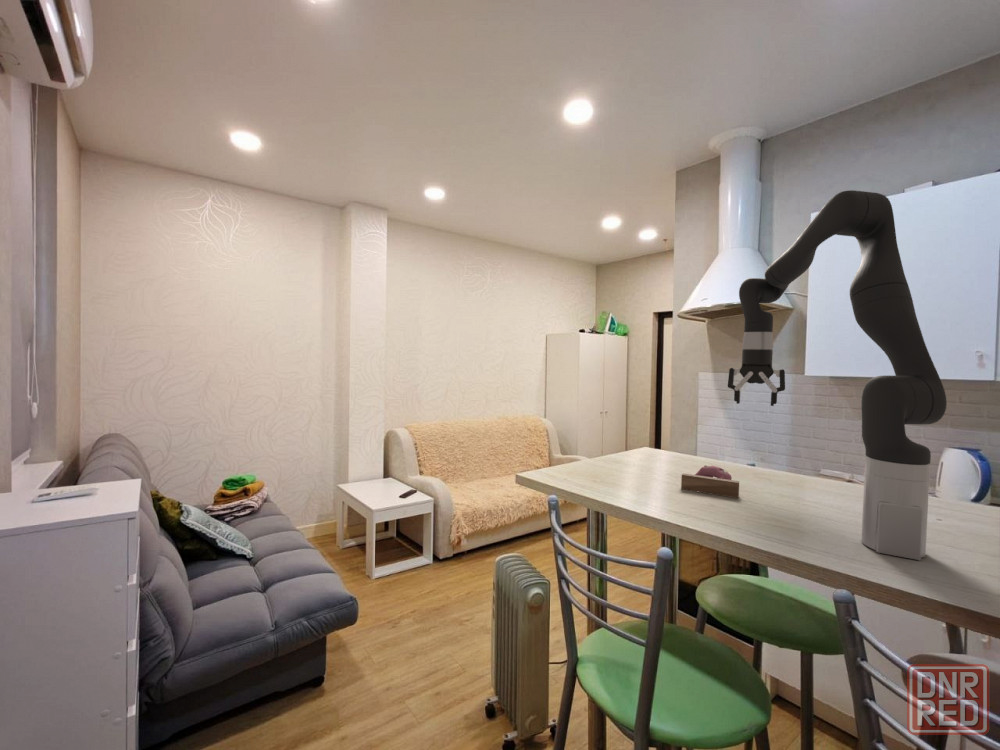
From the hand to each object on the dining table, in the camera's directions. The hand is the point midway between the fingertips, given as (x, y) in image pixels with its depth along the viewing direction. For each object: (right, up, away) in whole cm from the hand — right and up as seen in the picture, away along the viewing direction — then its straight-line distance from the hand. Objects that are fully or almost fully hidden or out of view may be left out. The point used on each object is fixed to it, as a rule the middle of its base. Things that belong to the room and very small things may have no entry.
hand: (754, 404), depth 127 cm
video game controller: (-14, -24, -2) cm, 27 cm away
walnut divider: (-17, -23, -8) cm, 30 cm away
